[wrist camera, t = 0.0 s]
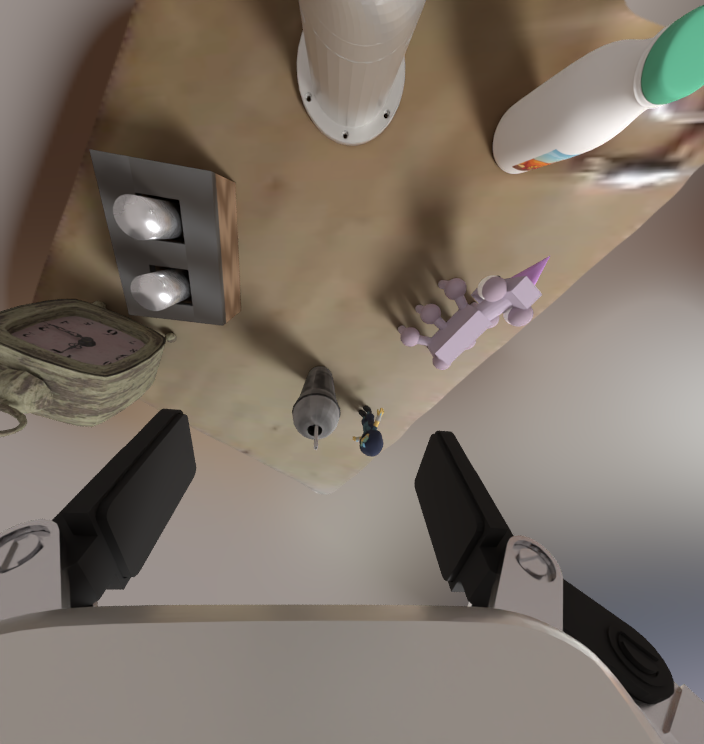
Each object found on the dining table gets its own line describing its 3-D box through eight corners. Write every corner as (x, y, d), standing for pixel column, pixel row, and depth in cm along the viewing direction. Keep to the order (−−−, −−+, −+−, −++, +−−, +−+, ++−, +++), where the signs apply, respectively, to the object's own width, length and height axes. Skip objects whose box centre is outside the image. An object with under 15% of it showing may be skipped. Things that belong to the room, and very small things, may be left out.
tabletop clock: (188, 332, 45) (48, 428, 23) (174, 373, 49) (42, 491, 27) (91, 288, 41) (-189, 355, 19) (83, 337, 45) (-161, 440, 23)
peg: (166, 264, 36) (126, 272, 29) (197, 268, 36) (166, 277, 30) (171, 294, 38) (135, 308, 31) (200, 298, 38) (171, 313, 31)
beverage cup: (295, 385, 51) (274, 466, 34) (308, 353, 48) (294, 424, 31) (330, 398, 53) (328, 481, 35) (345, 367, 50) (351, 442, 33)
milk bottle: (480, 165, 37) (614, 104, 19) (508, 90, 33) (704, -68, 16) (528, 182, 38) (696, 140, 20) (560, 112, 35) (796, -12, 17)
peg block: (139, 165, 35) (89, 149, 28) (235, 182, 36) (211, 171, 29) (163, 300, 43) (129, 314, 36) (241, 310, 44) (223, 325, 37)
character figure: (371, 390, 53) (380, 431, 42) (387, 400, 54) (400, 441, 44) (344, 421, 56) (347, 466, 45) (360, 430, 57) (366, 475, 47)
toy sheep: (478, 224, 40) (543, 226, 28) (516, 270, 44) (587, 289, 32) (388, 325, 47) (410, 361, 35) (429, 358, 51) (461, 400, 39)
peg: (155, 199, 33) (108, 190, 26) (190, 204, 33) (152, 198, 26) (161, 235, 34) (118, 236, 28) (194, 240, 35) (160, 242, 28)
